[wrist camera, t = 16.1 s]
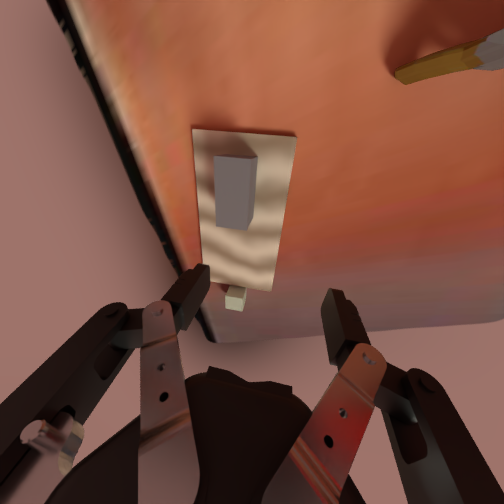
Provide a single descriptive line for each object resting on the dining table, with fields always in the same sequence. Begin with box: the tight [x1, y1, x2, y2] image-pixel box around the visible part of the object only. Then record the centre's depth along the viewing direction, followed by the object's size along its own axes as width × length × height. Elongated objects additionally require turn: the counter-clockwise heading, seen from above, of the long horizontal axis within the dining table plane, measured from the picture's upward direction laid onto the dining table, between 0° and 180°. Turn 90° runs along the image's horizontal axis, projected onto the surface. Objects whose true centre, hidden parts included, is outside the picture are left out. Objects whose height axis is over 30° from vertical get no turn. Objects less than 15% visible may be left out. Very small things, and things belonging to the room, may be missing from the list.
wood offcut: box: [226, 285, 247, 311], centre depth 44 cm, size 4×4×4 cm
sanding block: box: [214, 154, 258, 231], centre depth 29 cm, size 10×5×6 cm, turn 176°
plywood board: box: [192, 129, 297, 292], centre depth 35 cm, size 30×16×1 cm, turn 176°
